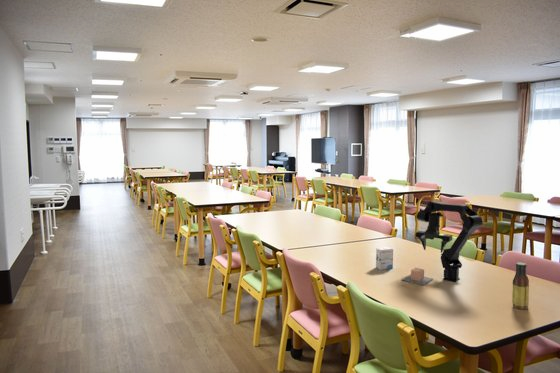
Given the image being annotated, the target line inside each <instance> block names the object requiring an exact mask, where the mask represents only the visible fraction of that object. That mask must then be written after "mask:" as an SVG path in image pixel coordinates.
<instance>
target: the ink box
mask: <svg viewBox="0 0 560 373" xmlns="http://www.w3.org/2000/svg"><path fill="white" fill-rule="evenodd" d="M375 250H376V251H375V252H376V253H375V254H376V255H375V257H376V258H375V268H376V269H377V270H379V271H385V270H391V269H393V268H394V267H393V266H394V248H391V247H388V246H385V247H377V248H376V249H375Z"/></svg>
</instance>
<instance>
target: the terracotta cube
mask: <svg viewBox="0 0 560 373" xmlns="http://www.w3.org/2000/svg"><path fill="white" fill-rule="evenodd" d="M410 274H411V279H413V280H417V281H421V280H423V279H424V277H425V269H424V268H419V267H414V268H412V269H411V270H410Z"/></svg>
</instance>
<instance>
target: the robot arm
mask: <svg viewBox="0 0 560 373" xmlns="http://www.w3.org/2000/svg"><path fill="white" fill-rule="evenodd" d="M441 211H443V212H452V213H453V212H454V213H458V214H459V216H460V219H461V221H462V229H461V231H460V232H459V233H458V235H457V237H456V238H455V240H454V242H453V244H452V245H451V246H450V248H446V249H445V247H446V246H447V244H448V243H450V242H452V241H453V235H451V234H448V233H447V234H443V235H440V234H441V233H440V227H441V223H440V222H441V221H440V220H441V219H440V218H441V217H444V214H442V213H441ZM416 219H417V221H421V222H425V223H428V225H427V227H426V228H427V229H426V230H424V231H423V230H418V231H416V232H415V235H414V236H415V238H417V240H418V239H419V241H420V242H421V244H422V247H423V250H424V251H426V249H427V239H428V240H434V239H439V240H440V239H441V241H440V244H441V246H440V261H441V265H442V268H443V278H442V280H445V281H449V282H457V281H459V280H460V277H459V276H460V275H459V274H460V269H461V268H462V267H463V264H462V262H461V260H460V252H461V251H462V249H463V248H464V246H465V245H466V243H467V241H468V240H469V239H470V237H471V235H472V234H474V232H476V231H477V230H479V229H480V228H481V227H482V226H483V224H484V221H483V219H482V217H481V216H480V215H479V214H478V213H477V211H475V210H473V209H472V208H471V207H470V206H469V205H467V204H457V203H446V202H443V201H441V200H432V201H428V203H427V204H426V206H425V208H419V211H418V212H417V213H416Z"/></svg>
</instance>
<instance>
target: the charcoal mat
mask: <svg viewBox="0 0 560 373" xmlns="http://www.w3.org/2000/svg"><path fill="white" fill-rule="evenodd" d="M402 280H404V281H403V282H406V281H408V282H407V283H411V282H412V284H415V283H416V285H419V286H425V285H427V284H429V283H430V282H432V281H433V280H434V278H432V277H428V276H424V279H423V280H421V281H417V280H413V279H411V273H410V274H409V275H406V276H405V277H403V278H401V281H402Z"/></svg>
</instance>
